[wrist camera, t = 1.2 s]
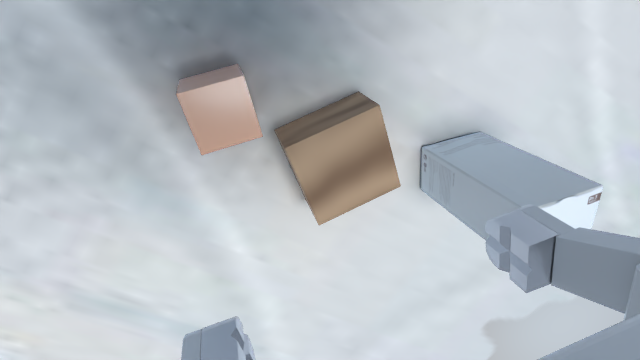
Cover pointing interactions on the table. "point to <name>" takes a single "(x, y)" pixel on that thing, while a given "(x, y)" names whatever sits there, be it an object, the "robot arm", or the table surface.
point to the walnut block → (340, 156)
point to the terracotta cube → (218, 108)
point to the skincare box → (503, 182)
